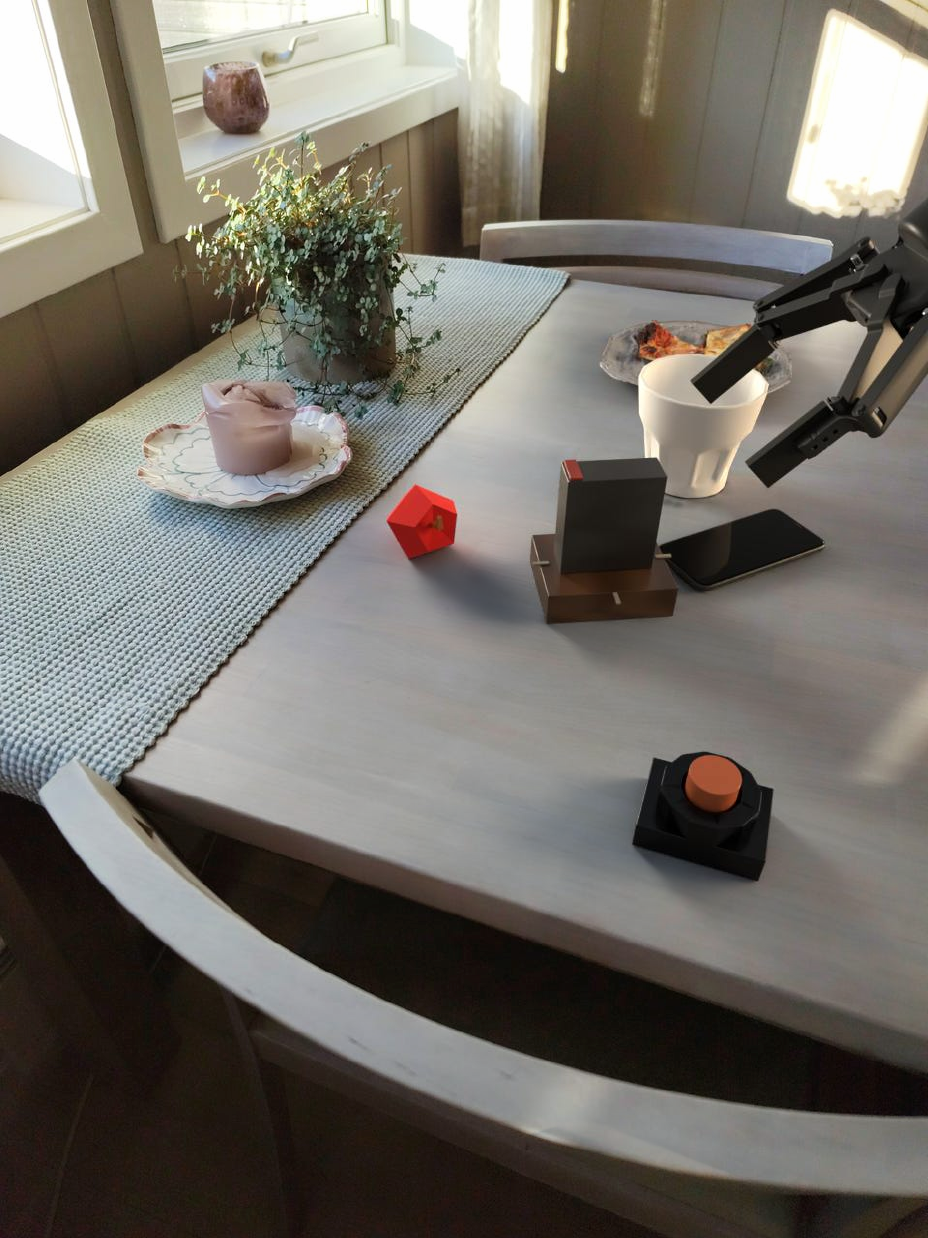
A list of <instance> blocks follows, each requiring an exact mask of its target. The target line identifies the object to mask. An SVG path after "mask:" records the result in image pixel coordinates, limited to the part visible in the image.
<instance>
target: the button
mask: <svg viewBox="0 0 928 1238" xmlns="http://www.w3.org/2000/svg"><path fill="white" fill-rule="evenodd" d="M741 782H742V777H741V774H740V771H739V770H738V768H737V767H736V766H735V765H734V764H733V763H732V762H730V761H729V760H727V759H725V758H722V757H719V756H713V755H707V756H702V757H699V758H697V759H696V760H694V761H693V762H692V764H691V765H690V768H689V772H688V776H687V780H686V784H685V792H686V795H687V797H688V799H689V800H690V801H691V802H692V803H693V804H694V805H695V806H697V807H698V808H700V809H702V810H705V811H709V812H723V811H726V810H728V809H730V808H731V807H732V806H733V805H734V804H735V801H736V798H737V795H738V792H739V789H740V786H741Z"/></svg>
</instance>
